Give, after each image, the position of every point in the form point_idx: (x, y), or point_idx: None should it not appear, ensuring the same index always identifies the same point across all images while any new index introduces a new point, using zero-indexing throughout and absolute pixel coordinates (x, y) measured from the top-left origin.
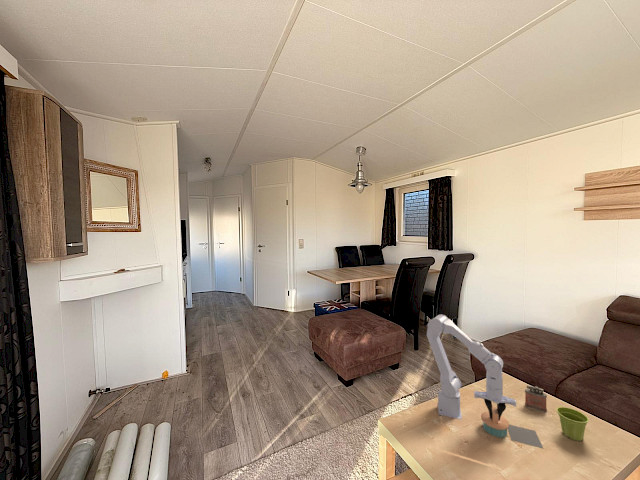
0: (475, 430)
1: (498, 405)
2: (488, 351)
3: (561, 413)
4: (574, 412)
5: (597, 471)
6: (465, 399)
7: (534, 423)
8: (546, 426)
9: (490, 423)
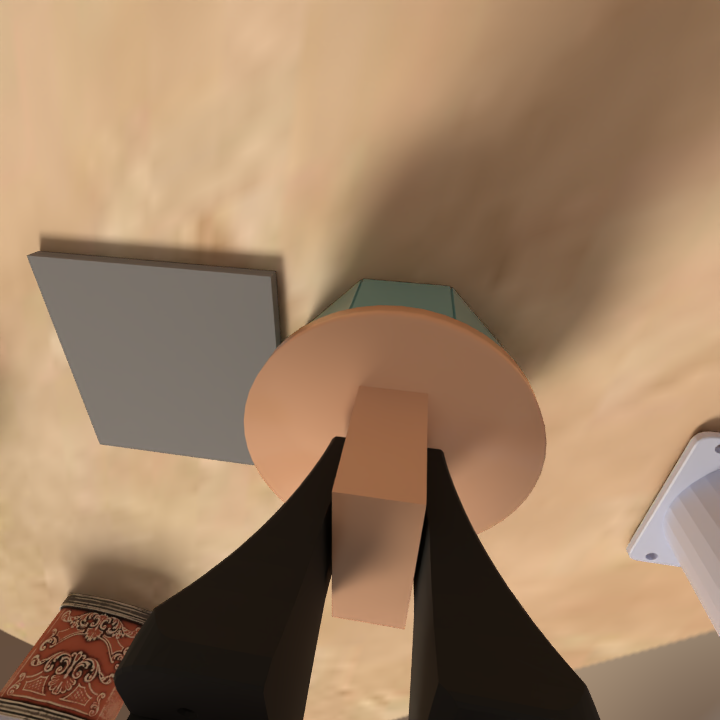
0: (599, 327)
1: (283, 682)
2: None
3: None
4: None
5: None
6: None
7: (116, 509)
8: (55, 498)
9: (464, 372)
